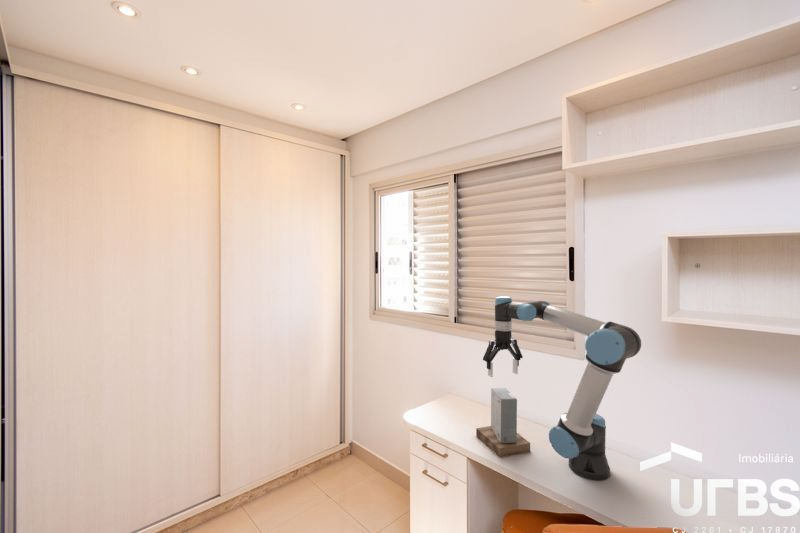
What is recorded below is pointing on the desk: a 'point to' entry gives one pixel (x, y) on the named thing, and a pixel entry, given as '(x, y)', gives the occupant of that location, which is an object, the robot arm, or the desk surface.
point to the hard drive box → (504, 415)
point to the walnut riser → (502, 448)
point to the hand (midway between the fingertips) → (502, 374)
